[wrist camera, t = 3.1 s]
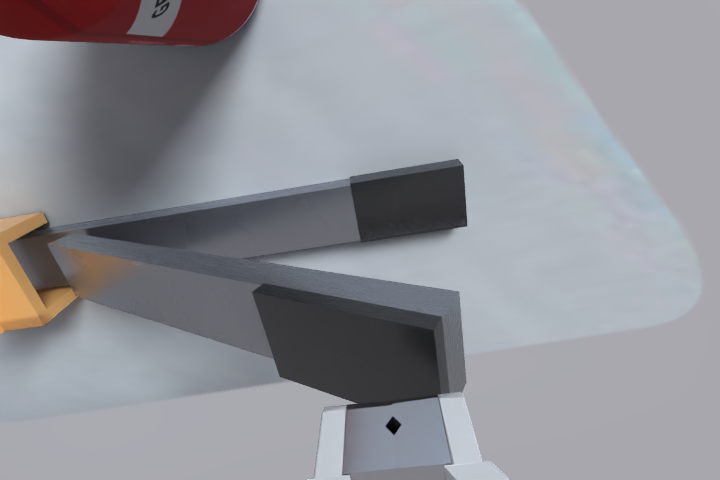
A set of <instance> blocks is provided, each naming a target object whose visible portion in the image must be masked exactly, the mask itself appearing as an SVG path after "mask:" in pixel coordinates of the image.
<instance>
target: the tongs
mask: <svg viewBox="0 0 720 480" xmlns="http://www.w3.org/2000/svg"><path fill="white" fill-rule="evenodd" d="M465 226H467V214H466V199H465V183H464V168H463V164H462V163H461V162H460V161H459V160H458V159H456V160H450V161H443V162H437V163H431V164H425V165H419V166H413V167H407V168H401V169H395V170H389V171H383V172H377V173H371V174H365V175H358V176H352V177H350V179H346V180H340V181H334V182H328V183H321V184H315V185H309V186H303V187H297V188H291V189H285V190H279V191H273V192H267V193H261V194H254V195H248V196H242V197H236V198H230V199H224V200H218V201H212V202H206V203H200V204H194V205H188V206H181V207H175V208H169V209H163V210H157V211H151V212H145V213H139V214H133V215H127V216H121V217H115V218H108V219H102V220H96V221H90V222H84V223H78V224H72V225H66V226H60V227H54V228H48V229H41V230H35V231H30V232H29V233H27V234H25V235H23V236H21V237H19V238H17V239H15V240H14V241H12V242H10V243H8V245H9V247H10V248H11V250H12V252H13V253H14V255H15V257H16V258H17V260H18V262H19V264H20V265H21V267H22V269H23V270H24V272H25V274H26V275H27V277H28V279H29V280H30V282H31V284H32V285H33V287H34V289H35V290H38V289H45V288H51V287H58V286H65V285H69V283H68V281H67V280H66V278H65V276H64V274H63V272H62V271H61V269H60V267H59V265H58V263H57V261H56V260H55V258H54V256H53V254H52V252H51V251H50V249H49V247H48V245H47V244H48V243H50V242H53V241H55V240H58V239H60V238H62V237H65V236H67V235H70V234H72V233H73V234H80V235H87V236H93V237H100V238H107V239H113V240H120V241H126V242H133V243H140V244H146V245H153V246H160V247H166V248H173V249H180V250H186V251H193V252H199V253H206V254H213V255H219V256H226V257H233V258H239V259H242V258H249V257H256V256H262V255H269V254H275V253H282V252H289V251H295V250H302V249H308V248H315V247H321V246H328V245H335V244H341V243H348V242H354V241H361V242H366V241H373V240H379V239H386V238H392V237H399V236H406V235H412V234H419V233H425V232H432V231H439V230H445V229H452V228H458V227H465Z"/></svg>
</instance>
